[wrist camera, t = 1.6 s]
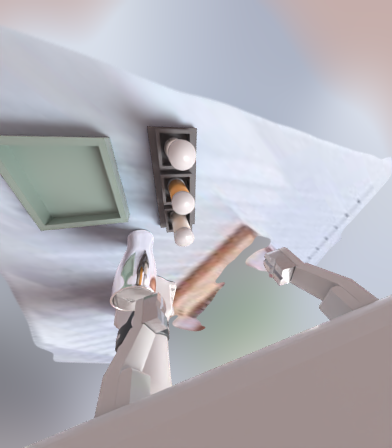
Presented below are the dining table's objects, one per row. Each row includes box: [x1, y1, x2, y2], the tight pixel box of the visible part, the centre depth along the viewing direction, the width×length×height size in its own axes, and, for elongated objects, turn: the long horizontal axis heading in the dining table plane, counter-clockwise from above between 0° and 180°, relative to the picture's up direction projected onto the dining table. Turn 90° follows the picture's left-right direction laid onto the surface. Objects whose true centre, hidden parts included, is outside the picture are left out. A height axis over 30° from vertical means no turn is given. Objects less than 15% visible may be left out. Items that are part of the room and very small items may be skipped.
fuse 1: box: [164, 137, 196, 171], centre depth 21 cm, size 3×3×9 cm
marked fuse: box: [167, 177, 195, 215], centre depth 24 cm, size 3×3×9 cm
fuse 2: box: [170, 211, 194, 247], centre depth 28 cm, size 3×3×9 cm
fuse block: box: [147, 126, 197, 232], centre depth 27 cm, size 19×8×4 cm, turn 179°
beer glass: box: [110, 230, 157, 311], centre depth 28 cm, size 7×7×15 cm
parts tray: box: [0, 135, 130, 231], centre depth 23 cm, size 14×14×3 cm
